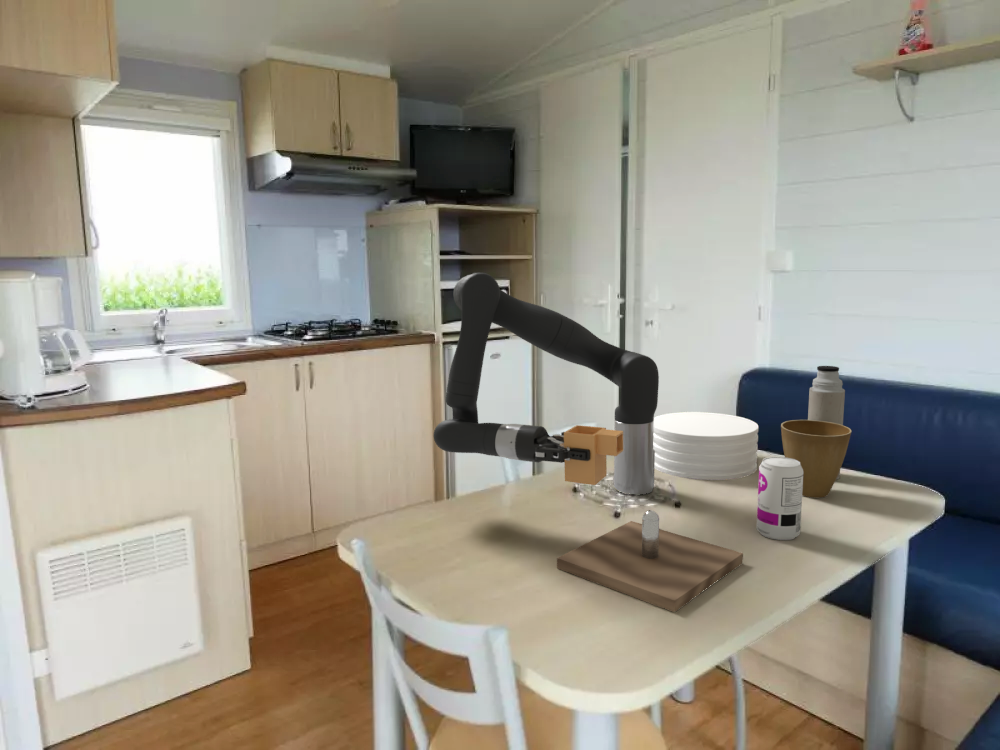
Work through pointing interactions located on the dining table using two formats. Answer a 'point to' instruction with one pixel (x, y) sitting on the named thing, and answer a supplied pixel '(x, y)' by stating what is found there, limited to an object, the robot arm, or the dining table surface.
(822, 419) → the thermos bottle
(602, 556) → the mount board
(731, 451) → the plate stack
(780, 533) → the supplement can
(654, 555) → the grey upright cylinder piece
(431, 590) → the dining table surface
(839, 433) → the plant pot
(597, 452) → the open-top tan box
